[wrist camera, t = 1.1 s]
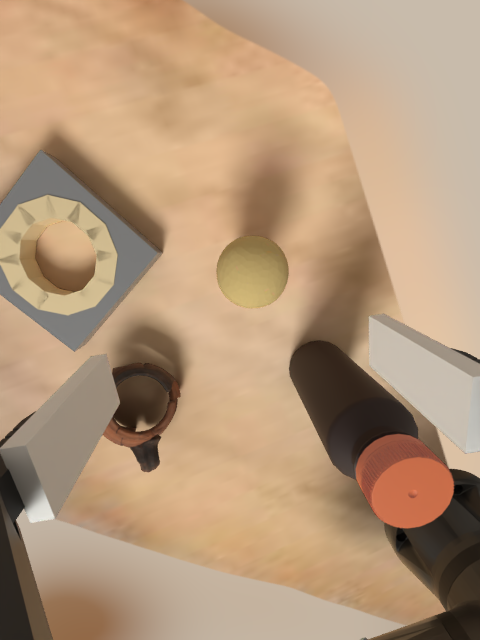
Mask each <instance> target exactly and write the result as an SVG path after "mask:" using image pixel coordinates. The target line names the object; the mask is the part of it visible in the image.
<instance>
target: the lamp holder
mask: <svg viewBox="0 0 480 640" xmlns="http://www.w3.org/2000/svg"><path fill="white" fill-rule="evenodd" d="M62 221H69V222H73V223H74V224H75V225H76V226H77V227H78V228H80V229H81V230H82V231H83V232H84V233H85V234H87V235H88V236H89V238H90V241H91V243H92V245H93V248H94V250H95V253H96V255H97V258H96V266H95V274H94V276H93V278H92V279H91V280H90V281H89V282H88V284H87V285H86V286H85V287H84V289H83V290H80V291H77V292H72V291H67V290H63V289H58V288H57V287H56V286H55V285H53V284H52V283H51V282H50V281H48V280H47V279H46V278H45V277H43V275H42V272H41V270H40V268H39V266H38V264H37V262H36V259H35V256H36V244H37V239H38V238H39V237H40V236H41V234H42V233H43V232H44V230H45V229H46V228H47V226H50V225H53V224H56V223H59V222H62ZM162 254H163V253H162V252H161V251H160V250H159V249H158V248H157V247H156V246H154V245H153V244H152V243H151V242H150V241H149V240H148V239H147V238H145V237H144V236H143V235H142V234H141V233H140V232H139V231H138V230H136V229H135V228H134V227H133V226H132V225H131V224H130V223H129V222H127V221H126V220H125V219H124V218H123V217H122V216H121V215H119V214H118V213H117V212H116V211H115V210H114V209H113V208H112V207H110V206H109V205H108V204H107V203H106V202H105V201H104V200H103V199H101V198H100V197H99V196H98V195H97V194H96V193H95V192H93V191H92V190H91V189H90V188H89V187H88V186H87V185H86V184H84V183H83V182H82V181H81V180H80V179H79V178H78V177H77V176H75V175H74V174H73V173H72V172H71V171H70V170H69V169H68V168H66V167H65V166H64V165H63V164H62V163H61V162H60V161H58V160H57V159H56V158H55V157H53V156H51V155H49V154H48V153H46V152H44V151H42V150H40V151H39V153H38V154H37V155H36V157H35V158H34V159H33V161H32V162H31V163H30V165H29V166H28V168H27V169H26V170H25V172H24V173H23V174H22V176H21V177H20V178H19V180H18V181H17V183H16V184H15V185H14V187H13V188H12V189H11V191H10V192H9V193H8V195H7V196H6V198H5V199H4V200H3V202H2V203H1V204H0V295H1V296H3V297H4V298H5V299H7V300H8V301H9V302H11V303H12V304H13V305H14V306H16V307H17V308H18V309H20V310H21V311H22V312H24V313H25V314H26V315H27V316H29V317H30V318H31V319H33V320H34V321H35V322H37V323H38V324H39V325H40V326H42V327H43V328H44V329H46V330H47V331H48V332H50V333H51V334H52V335H53V336H55V337H56V338H57V339H59V340H60V341H61V342H63V343H64V344H65V345H66V346H68V347H69V348H70V349H72V350H73V351H74V352H75V351H76V350H78V349H79V348H81V347H83V346H84V345H85V344H86V343H87V342H88V341H89V340H90V338H91V337H92V336H93V335H94V334H95V333H96V331H97V330H98V329H99V328H100V327H101V326H102V324H103V323H104V322H105V321H106V320H107V318H108V317H109V316H110V315H111V314H112V313H113V311H114V310H115V309H116V308H117V307H118V305H119V304H120V303H121V302H122V301H123V300H124V298H125V297H126V296H127V295H128V294H129V292H130V291H131V290H132V289H133V288H134V287H135V285H136V284H137V283H138V282H139V281H140V279H141V278H142V277H143V276H144V275H145V274H146V272H147V271H148V270H149V269H150V268H151V267H152V265H153V264H154V263H155V262H156V261H157V259H158V258H159V257H160V256H161V255H162Z"/></svg>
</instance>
